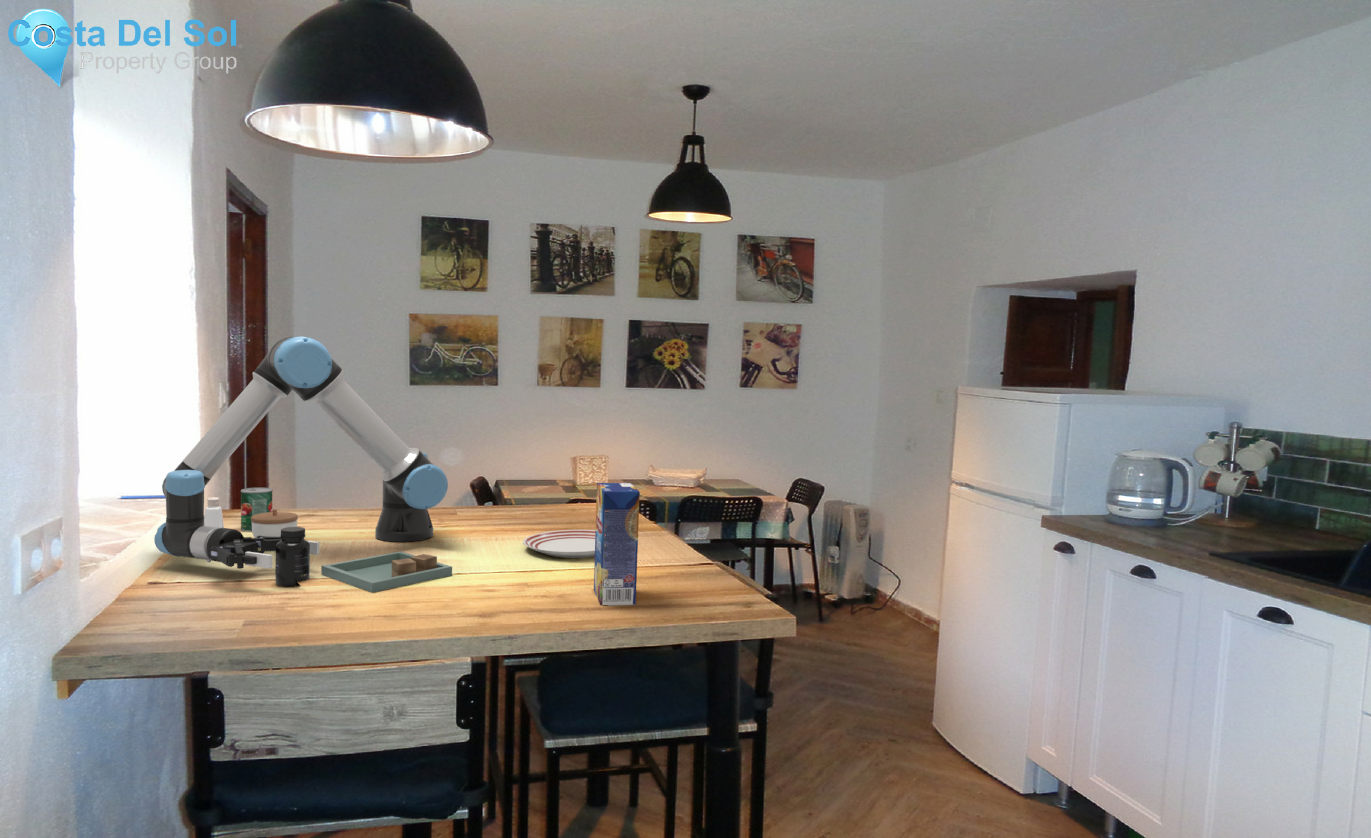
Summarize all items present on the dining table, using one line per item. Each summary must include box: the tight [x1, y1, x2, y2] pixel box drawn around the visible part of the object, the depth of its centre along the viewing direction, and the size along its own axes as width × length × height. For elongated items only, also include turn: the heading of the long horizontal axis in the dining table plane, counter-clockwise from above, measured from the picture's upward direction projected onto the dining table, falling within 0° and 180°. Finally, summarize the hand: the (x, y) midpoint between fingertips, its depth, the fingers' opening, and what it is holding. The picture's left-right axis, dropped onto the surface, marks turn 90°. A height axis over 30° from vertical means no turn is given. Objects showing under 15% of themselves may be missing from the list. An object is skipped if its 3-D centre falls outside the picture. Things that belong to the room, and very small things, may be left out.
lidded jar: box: [251, 508, 299, 538], centre depth 219 cm, size 11×11×9 cm
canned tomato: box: [240, 487, 273, 533], centre depth 237 cm, size 8×8×11 cm
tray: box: [320, 550, 453, 594], centre depth 192 cm, size 20×20×3 cm
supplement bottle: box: [274, 526, 311, 588], centre depth 186 cm, size 7×7×12 cm
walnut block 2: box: [411, 553, 438, 572], centre depth 193 cm, size 4×4×4 cm
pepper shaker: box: [204, 496, 225, 528], centre depth 222 cm, size 5×5×11 cm
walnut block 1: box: [392, 558, 416, 577], centre depth 189 cm, size 4×4×4 cm
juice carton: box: [593, 482, 641, 606], centre depth 184 cm, size 12×8×24 cm, turn 13°
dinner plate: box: [522, 529, 596, 559], centre depth 227 cm, size 27×27×3 cm
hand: (295, 554), depth 185 cm, fingers open, 13 cm apart
